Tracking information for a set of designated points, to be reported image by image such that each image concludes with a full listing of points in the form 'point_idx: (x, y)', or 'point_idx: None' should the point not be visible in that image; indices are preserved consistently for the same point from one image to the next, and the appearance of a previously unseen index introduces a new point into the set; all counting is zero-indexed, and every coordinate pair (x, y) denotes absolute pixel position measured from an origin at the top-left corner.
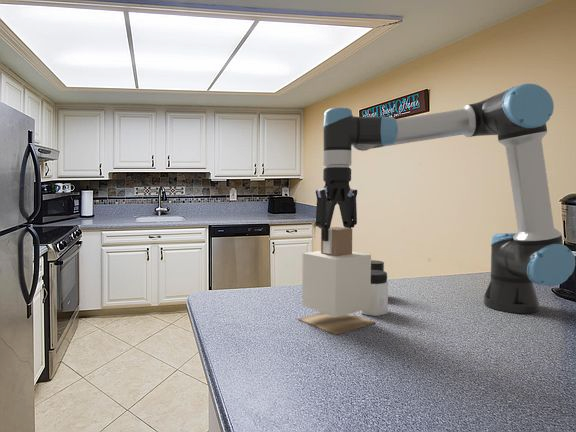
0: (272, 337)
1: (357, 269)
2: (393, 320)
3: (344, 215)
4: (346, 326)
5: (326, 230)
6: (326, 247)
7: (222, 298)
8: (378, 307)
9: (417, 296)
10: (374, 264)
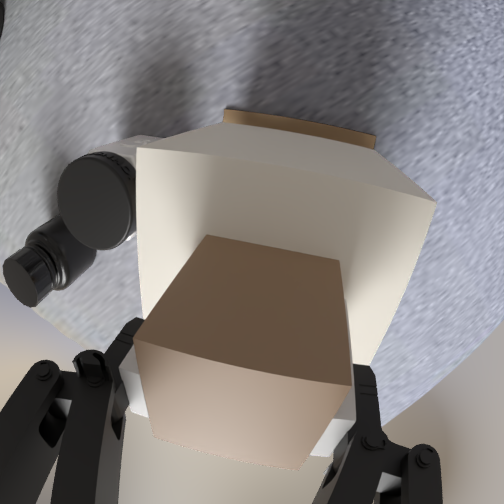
0: (462, 239)
1: (264, 148)
2: (172, 92)
3: (107, 480)
4: None
5: (370, 425)
6: None
7: None
8: None
9: (15, 175)
10: (27, 270)
